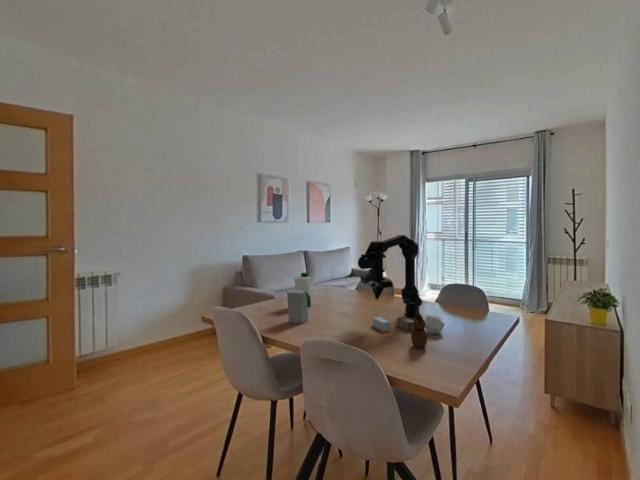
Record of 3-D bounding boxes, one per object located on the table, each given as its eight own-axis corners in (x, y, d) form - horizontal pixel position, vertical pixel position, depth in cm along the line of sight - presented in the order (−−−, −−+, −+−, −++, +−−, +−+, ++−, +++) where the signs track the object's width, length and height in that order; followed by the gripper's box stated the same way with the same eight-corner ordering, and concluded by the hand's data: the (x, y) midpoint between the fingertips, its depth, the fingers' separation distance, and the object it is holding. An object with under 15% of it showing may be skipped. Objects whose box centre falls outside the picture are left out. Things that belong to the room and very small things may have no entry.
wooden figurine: (409, 344, 141) (409, 308, 140) (422, 343, 141) (423, 307, 141) (415, 350, 134) (415, 312, 134) (429, 349, 135) (429, 312, 134)
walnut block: (403, 316, 168) (415, 321, 159) (403, 324, 168) (415, 330, 159) (396, 317, 167) (408, 322, 158) (396, 325, 167) (408, 331, 158)
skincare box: (308, 320, 175) (308, 290, 175) (301, 324, 169) (301, 292, 168) (293, 319, 179) (293, 289, 178) (287, 322, 172) (286, 291, 172)
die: (440, 339, 149) (450, 319, 152) (423, 328, 150) (432, 309, 153) (434, 339, 157) (443, 321, 159) (417, 329, 158) (426, 311, 161)
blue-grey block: (379, 316, 168) (390, 322, 159) (379, 324, 168) (390, 330, 159) (372, 317, 166) (383, 322, 158) (372, 325, 167) (383, 331, 158)
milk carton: (312, 306, 206) (312, 273, 205) (303, 309, 199) (303, 275, 198) (301, 304, 211) (301, 272, 210) (292, 307, 204) (291, 273, 203)
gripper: (353, 265, 172) (353, 296, 173) (372, 270, 154) (372, 304, 155) (372, 264, 176) (372, 294, 177) (393, 269, 158) (393, 302, 159)
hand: (376, 299), depth 167 cm, fingers closed
